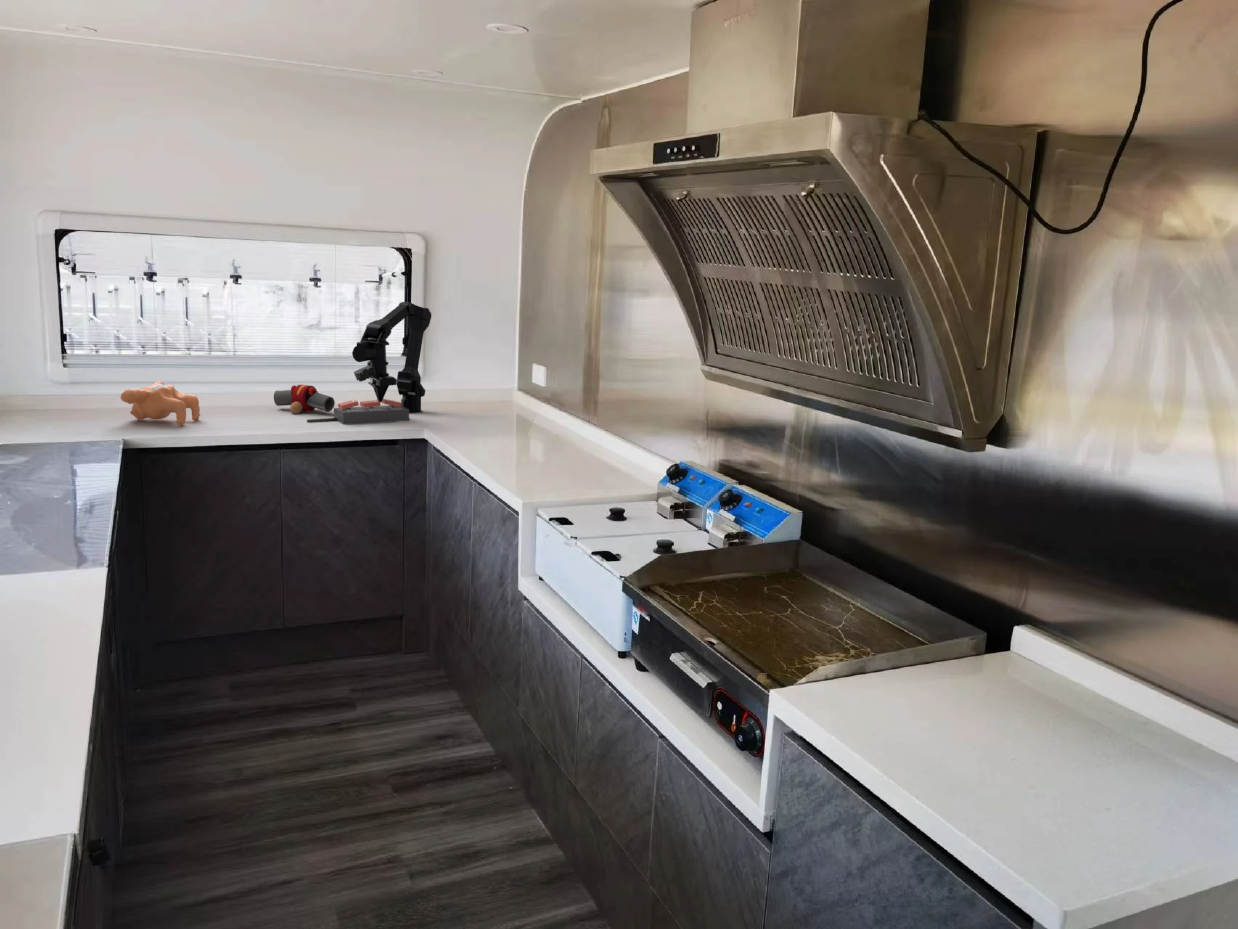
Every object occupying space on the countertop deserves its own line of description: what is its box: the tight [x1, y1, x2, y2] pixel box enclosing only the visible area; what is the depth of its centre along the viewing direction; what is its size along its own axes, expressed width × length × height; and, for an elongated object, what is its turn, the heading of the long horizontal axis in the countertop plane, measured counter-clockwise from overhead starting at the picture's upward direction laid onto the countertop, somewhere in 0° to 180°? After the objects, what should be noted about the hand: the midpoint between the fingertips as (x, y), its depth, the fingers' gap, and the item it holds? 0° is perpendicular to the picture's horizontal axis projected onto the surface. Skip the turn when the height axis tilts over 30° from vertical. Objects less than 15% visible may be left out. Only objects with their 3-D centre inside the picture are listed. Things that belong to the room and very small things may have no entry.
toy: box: [273, 384, 336, 415], centre depth 352 cm, size 23×10×15 cm
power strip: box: [306, 405, 410, 425], centre depth 341 cm, size 34×10×5 cm, turn 124°
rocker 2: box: [359, 399, 381, 407], centre depth 344 cm, size 6×4×2 cm, turn 124°
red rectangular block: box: [381, 398, 402, 407], centre depth 349 cm, size 6×4×2 cm, turn 125°
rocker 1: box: [337, 399, 360, 410], centre depth 340 cm, size 6×4×2 cm, turn 124°
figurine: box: [120, 380, 201, 427], centre depth 319 cm, size 14×25×20 cm
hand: (379, 402), depth 346 cm, fingers closed, pressing on rocker 2
